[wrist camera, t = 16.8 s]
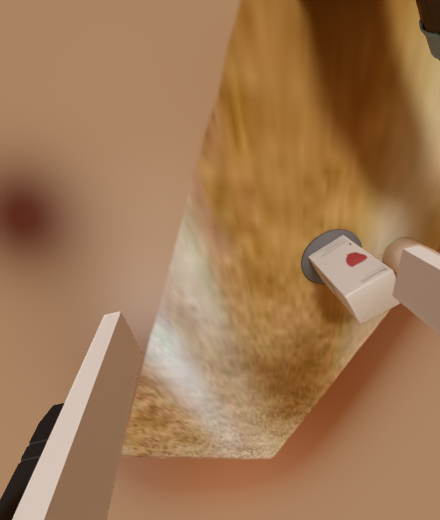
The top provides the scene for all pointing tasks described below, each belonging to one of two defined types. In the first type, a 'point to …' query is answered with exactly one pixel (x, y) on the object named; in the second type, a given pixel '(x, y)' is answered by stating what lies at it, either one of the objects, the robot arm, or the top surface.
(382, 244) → the top surface
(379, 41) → the top surface
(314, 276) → the base disk
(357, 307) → the supplement box
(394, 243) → the beige rounded cylinder
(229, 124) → the top surface
